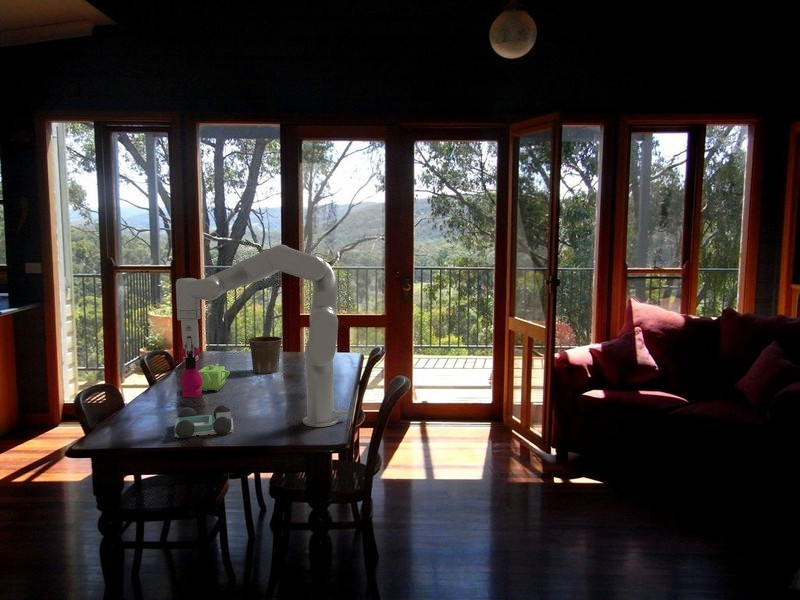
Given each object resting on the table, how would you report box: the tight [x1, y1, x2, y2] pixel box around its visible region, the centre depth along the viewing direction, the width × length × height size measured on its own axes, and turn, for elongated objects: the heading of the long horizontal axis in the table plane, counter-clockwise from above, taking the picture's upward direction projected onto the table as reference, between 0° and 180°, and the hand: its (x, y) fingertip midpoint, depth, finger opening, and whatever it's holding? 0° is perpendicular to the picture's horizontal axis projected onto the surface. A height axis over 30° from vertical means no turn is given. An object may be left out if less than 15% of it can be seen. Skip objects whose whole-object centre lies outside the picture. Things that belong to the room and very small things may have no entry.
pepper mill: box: [180, 340, 203, 398], centre depth 216 cm, size 7×7×20 cm
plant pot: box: [247, 335, 283, 375], centre depth 306 cm, size 16×16×16 cm
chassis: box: [174, 404, 234, 439], centre depth 219 cm, size 19×16×6 cm
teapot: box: [198, 363, 231, 392], centre depth 273 cm, size 15×13×11 cm
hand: (191, 366), depth 216 cm, fingers closed on pepper mill, 5 cm apart
